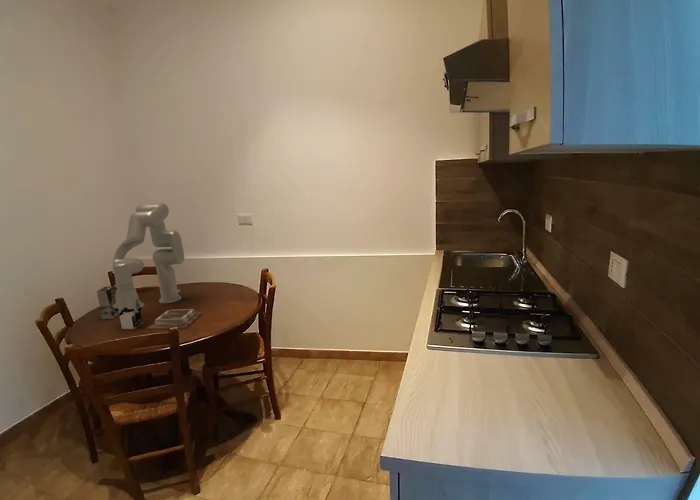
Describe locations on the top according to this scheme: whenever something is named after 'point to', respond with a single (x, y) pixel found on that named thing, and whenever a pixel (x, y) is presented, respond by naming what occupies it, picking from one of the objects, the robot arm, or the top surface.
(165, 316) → the collar board
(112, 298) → the coffee box
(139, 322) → the medicine bottle
